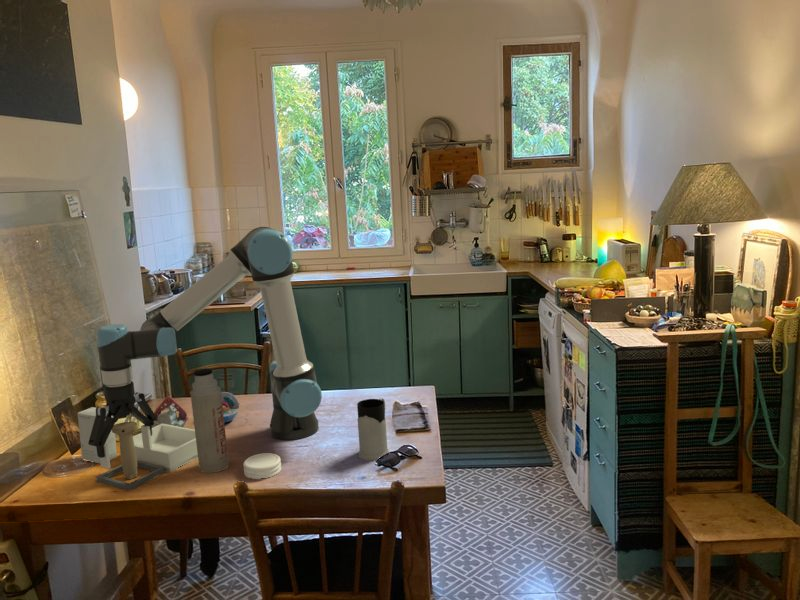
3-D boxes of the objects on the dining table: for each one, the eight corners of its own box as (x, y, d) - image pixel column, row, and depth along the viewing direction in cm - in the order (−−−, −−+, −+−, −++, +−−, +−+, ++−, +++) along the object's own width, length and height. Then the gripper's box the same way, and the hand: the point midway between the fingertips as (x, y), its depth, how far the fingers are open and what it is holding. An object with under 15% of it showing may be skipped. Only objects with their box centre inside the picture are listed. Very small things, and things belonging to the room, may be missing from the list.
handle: (120, 475, 188) (113, 423, 185) (144, 471, 189) (137, 420, 186) (117, 482, 183) (109, 430, 180) (142, 478, 185) (135, 426, 182)
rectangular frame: (165, 472, 188) (164, 466, 188) (129, 490, 178) (128, 485, 178) (133, 464, 194) (132, 459, 194) (96, 482, 184) (96, 477, 184)
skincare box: (82, 461, 198) (74, 413, 196) (98, 453, 204) (91, 406, 201) (104, 464, 195) (96, 415, 193) (119, 456, 201) (112, 408, 198)
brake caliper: (197, 414, 226) (183, 394, 217) (187, 443, 219) (173, 424, 210) (165, 414, 228) (150, 394, 219) (154, 443, 220) (139, 424, 212)
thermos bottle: (234, 463, 191) (224, 367, 186) (213, 475, 185) (202, 376, 179) (214, 458, 195) (204, 364, 190) (193, 469, 189) (181, 372, 183)
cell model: (204, 428, 219) (201, 400, 217) (216, 415, 231) (213, 388, 229) (235, 427, 218) (232, 399, 217) (245, 414, 230) (242, 387, 228)
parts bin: (212, 450, 202) (210, 432, 201) (170, 472, 188) (168, 453, 187) (164, 440, 211) (162, 423, 210) (121, 460, 198) (118, 442, 197)
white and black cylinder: (353, 458, 190) (349, 407, 187) (372, 439, 203) (369, 391, 200) (382, 461, 187) (379, 409, 184) (400, 441, 200) (397, 392, 197)
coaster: (265, 461, 192) (264, 449, 192) (289, 469, 186) (288, 457, 185) (236, 474, 185) (235, 462, 184) (260, 483, 178) (259, 471, 178)
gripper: (146, 368, 193) (154, 438, 198) (66, 395, 172) (77, 473, 176) (164, 371, 190) (172, 442, 194) (86, 399, 168) (96, 479, 172)
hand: (127, 457), depth 185 cm, fingers open, 13 cm apart
